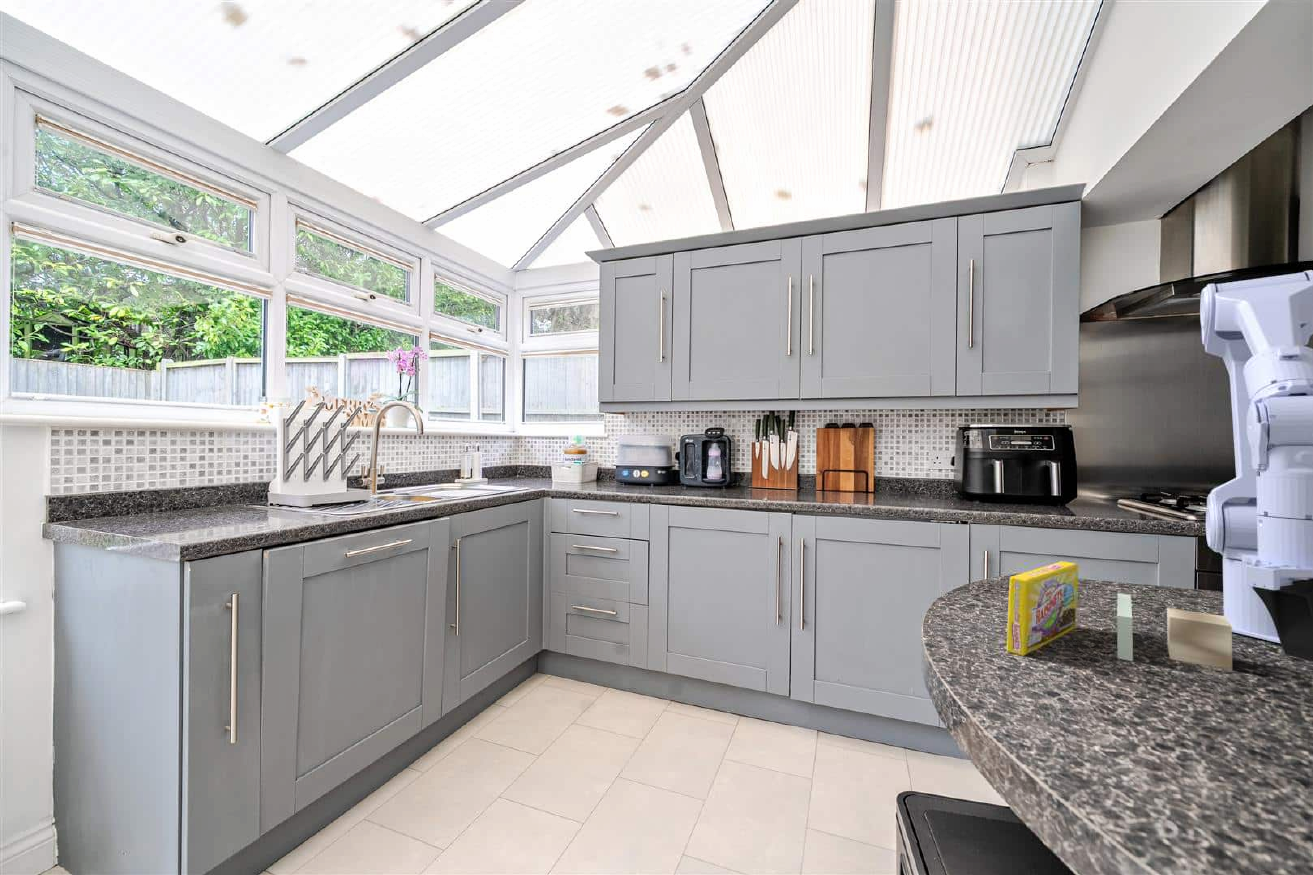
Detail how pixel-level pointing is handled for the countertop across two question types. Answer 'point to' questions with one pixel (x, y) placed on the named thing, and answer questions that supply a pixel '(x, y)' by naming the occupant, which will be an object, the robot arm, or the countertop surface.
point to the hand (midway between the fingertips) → (1303, 657)
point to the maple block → (1199, 638)
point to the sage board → (1124, 627)
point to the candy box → (1041, 606)
